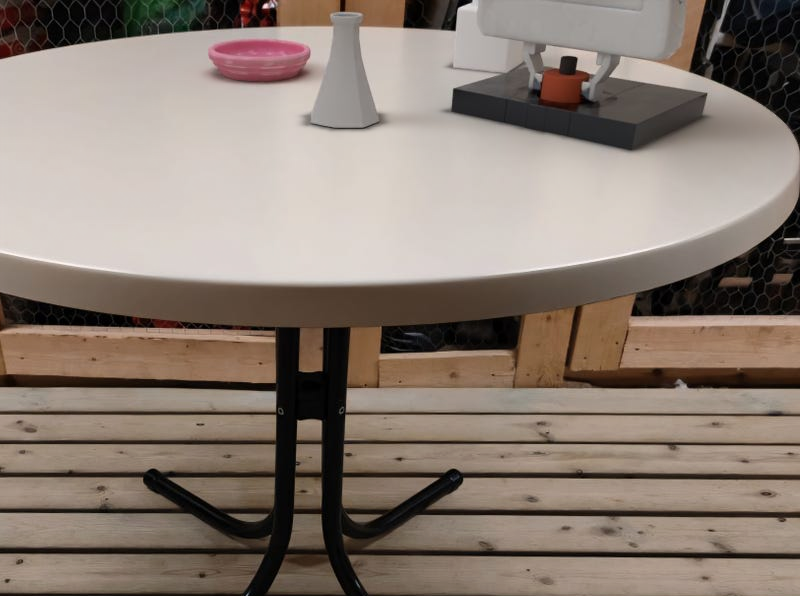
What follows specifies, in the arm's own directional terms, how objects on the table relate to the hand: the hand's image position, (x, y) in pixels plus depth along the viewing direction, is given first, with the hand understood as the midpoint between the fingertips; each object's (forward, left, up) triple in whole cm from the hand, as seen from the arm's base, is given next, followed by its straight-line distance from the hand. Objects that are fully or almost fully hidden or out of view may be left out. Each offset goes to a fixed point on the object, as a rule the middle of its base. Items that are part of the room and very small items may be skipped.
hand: (563, 95), depth 83 cm
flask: (+16, +15, -3) cm, 22 cm away
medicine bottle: (+20, -17, -3) cm, 26 cm away
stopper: (0, 0, -2) cm, 2 cm away
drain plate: (0, -3, -2) cm, 4 cm away
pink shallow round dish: (+38, +6, -3) cm, 38 cm away
